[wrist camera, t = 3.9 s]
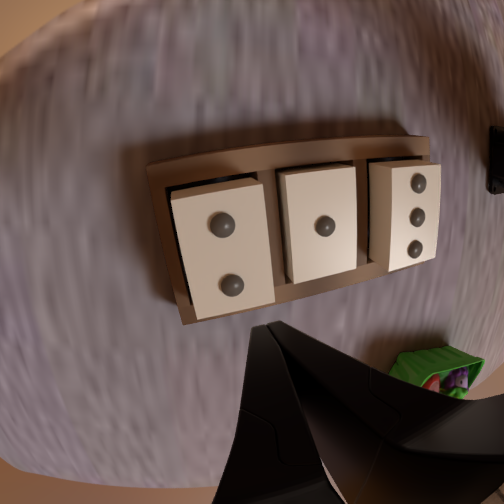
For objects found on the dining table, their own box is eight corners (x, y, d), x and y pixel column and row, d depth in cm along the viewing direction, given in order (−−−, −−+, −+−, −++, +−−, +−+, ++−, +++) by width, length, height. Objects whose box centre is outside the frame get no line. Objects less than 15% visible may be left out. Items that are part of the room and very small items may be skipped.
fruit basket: (460, 334, 29) (523, 390, 19) (427, 392, 32) (477, 450, 21) (395, 341, 26) (471, 422, 15) (359, 408, 28) (412, 487, 18)
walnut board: (409, 134, 18) (429, 137, 17) (407, 253, 22) (423, 263, 20) (149, 162, 16) (145, 166, 14) (181, 307, 19) (182, 325, 17)
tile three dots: (417, 159, 17) (442, 164, 15) (414, 245, 20) (436, 258, 17) (368, 162, 17) (393, 168, 14) (368, 257, 19) (390, 272, 17)
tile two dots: (250, 177, 15) (263, 184, 13) (263, 282, 18) (276, 303, 16) (171, 191, 15) (170, 201, 13) (194, 298, 17) (197, 321, 15)
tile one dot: (335, 162, 17) (356, 167, 15) (339, 255, 20) (357, 269, 18) (271, 170, 17) (286, 175, 15) (281, 268, 19) (294, 285, 17)
